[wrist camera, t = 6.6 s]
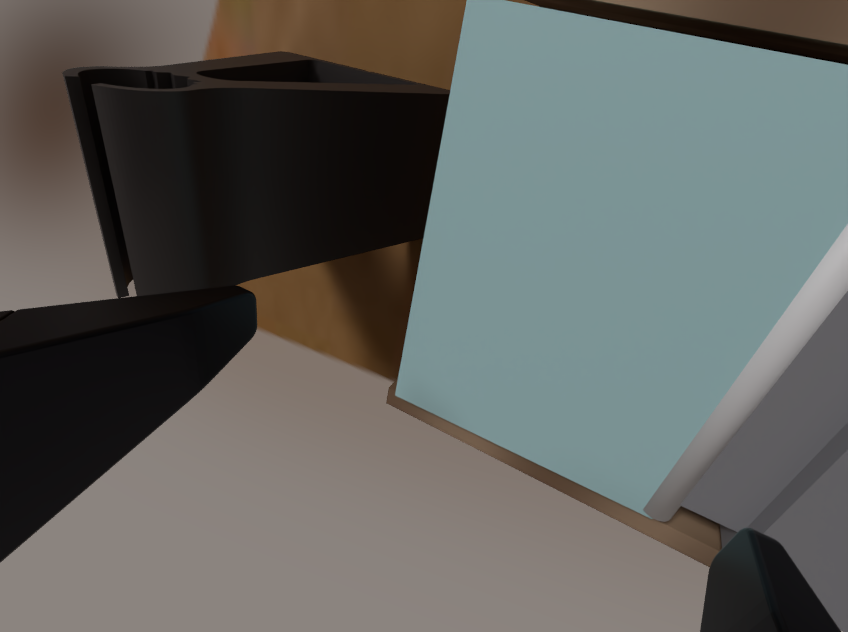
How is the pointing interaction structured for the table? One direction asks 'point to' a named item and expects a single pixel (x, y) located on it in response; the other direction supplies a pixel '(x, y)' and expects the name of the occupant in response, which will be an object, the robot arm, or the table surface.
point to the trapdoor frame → (716, 18)
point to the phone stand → (251, 165)
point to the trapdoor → (646, 273)
